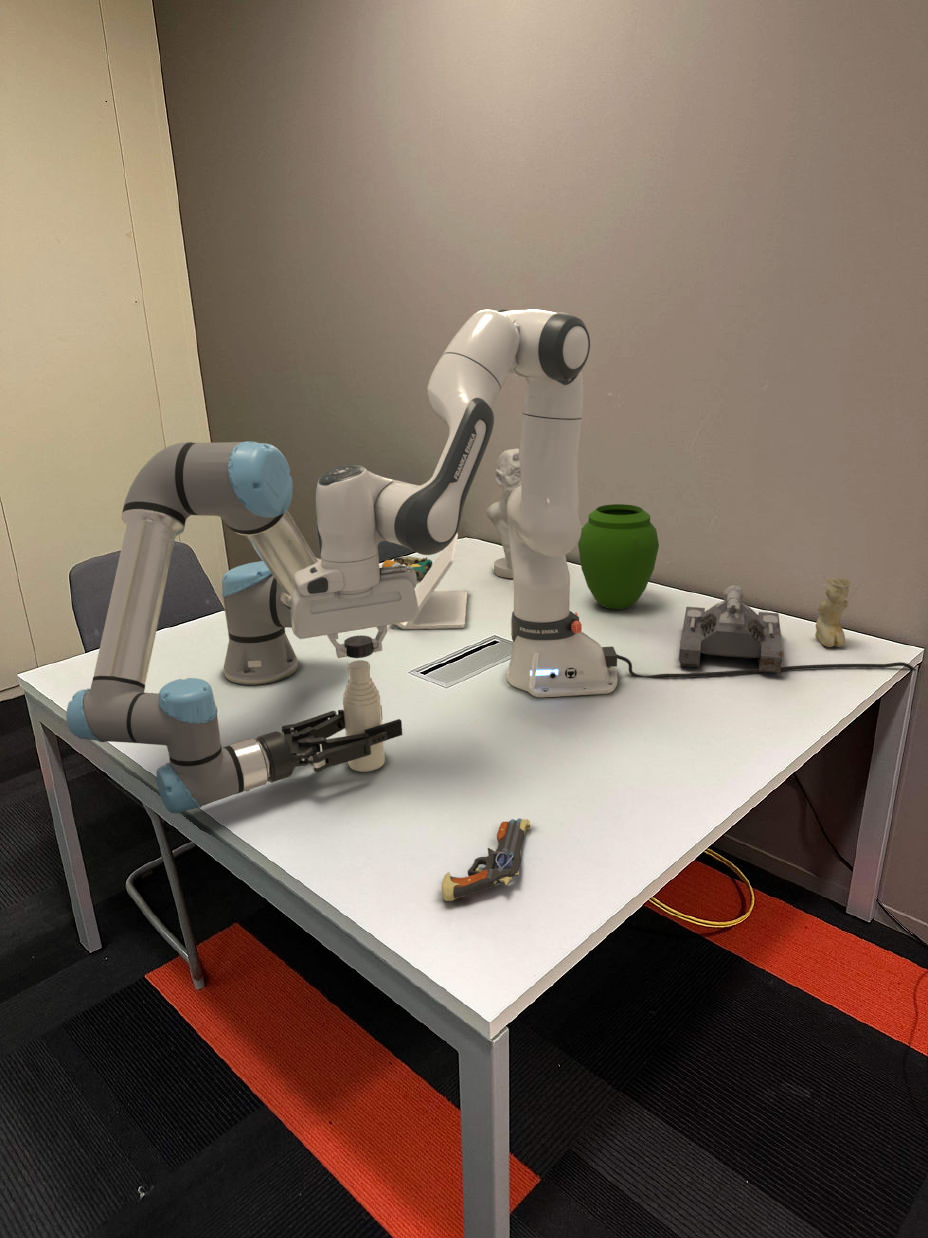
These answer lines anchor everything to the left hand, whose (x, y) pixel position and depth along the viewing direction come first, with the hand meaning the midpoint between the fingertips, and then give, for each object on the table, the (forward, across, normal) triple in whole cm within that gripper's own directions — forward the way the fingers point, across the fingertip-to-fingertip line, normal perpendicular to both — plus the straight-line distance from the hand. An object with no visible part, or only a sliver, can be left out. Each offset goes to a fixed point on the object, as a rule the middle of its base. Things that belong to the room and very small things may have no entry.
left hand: (390, 719), depth 145 cm
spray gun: (+55, -88, -7) cm, 104 cm away
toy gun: (-5, +35, -7) cm, 36 cm away
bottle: (-5, 0, -7) cm, 8 cm away
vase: (+82, -32, -7) cm, 88 cm away
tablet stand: (+43, -57, -7) cm, 71 cm away
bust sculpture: (+79, -65, -7) cm, 103 cm away
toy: (+81, +5, -7) cm, 81 cm away
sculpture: (+101, +16, -7) cm, 102 cm away
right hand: (-5, 0, +14) cm, 14 cm away
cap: (-5, 0, +15) cm, 16 cm away
